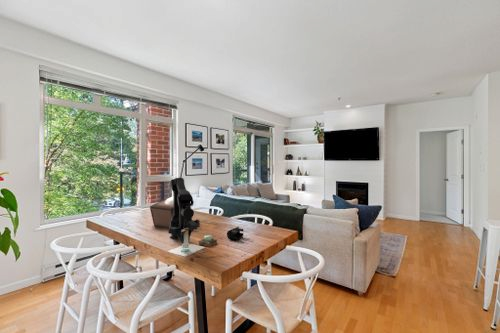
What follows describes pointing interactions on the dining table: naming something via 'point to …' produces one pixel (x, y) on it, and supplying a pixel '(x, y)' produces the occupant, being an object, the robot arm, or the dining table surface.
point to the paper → (186, 250)
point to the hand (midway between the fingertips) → (185, 242)
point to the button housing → (208, 244)
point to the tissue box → (162, 212)
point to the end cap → (235, 234)
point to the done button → (208, 238)
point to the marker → (185, 239)
